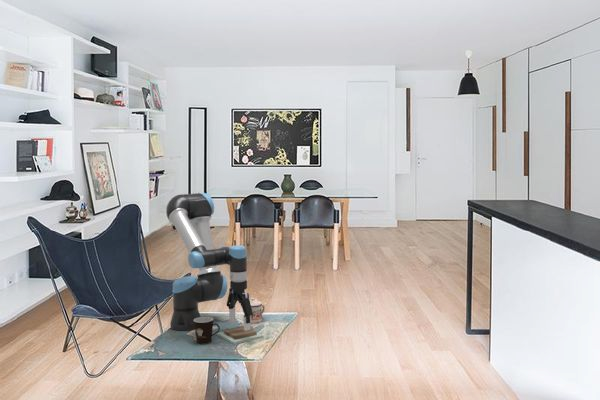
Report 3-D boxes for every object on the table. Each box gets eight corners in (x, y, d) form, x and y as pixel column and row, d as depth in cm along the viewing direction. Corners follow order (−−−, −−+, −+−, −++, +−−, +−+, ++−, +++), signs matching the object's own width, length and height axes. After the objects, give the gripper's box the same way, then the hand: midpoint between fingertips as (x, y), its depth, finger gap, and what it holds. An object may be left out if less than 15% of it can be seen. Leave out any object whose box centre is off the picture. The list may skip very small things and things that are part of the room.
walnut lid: (223, 333, 267) (223, 330, 267) (244, 328, 273) (244, 325, 273) (235, 339, 258) (235, 336, 258) (256, 334, 264) (256, 331, 264)
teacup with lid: (252, 325, 282) (251, 301, 281) (240, 321, 289) (239, 298, 288) (270, 319, 291) (270, 296, 290) (258, 316, 297) (258, 293, 296)
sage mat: (217, 335, 268) (217, 333, 268) (246, 328, 277) (245, 326, 276) (234, 344, 255) (234, 342, 255) (263, 337, 263) (263, 335, 263)
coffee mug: (190, 341, 260) (189, 319, 259) (207, 337, 266) (206, 315, 265) (205, 348, 251) (204, 325, 250) (221, 343, 257) (221, 320, 256)
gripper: (218, 276, 272) (219, 321, 274) (244, 286, 251) (246, 335, 253) (232, 274, 276) (233, 318, 278) (259, 284, 255) (261, 331, 257)
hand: (239, 326), depth 266 cm, fingers open, 13 cm apart
